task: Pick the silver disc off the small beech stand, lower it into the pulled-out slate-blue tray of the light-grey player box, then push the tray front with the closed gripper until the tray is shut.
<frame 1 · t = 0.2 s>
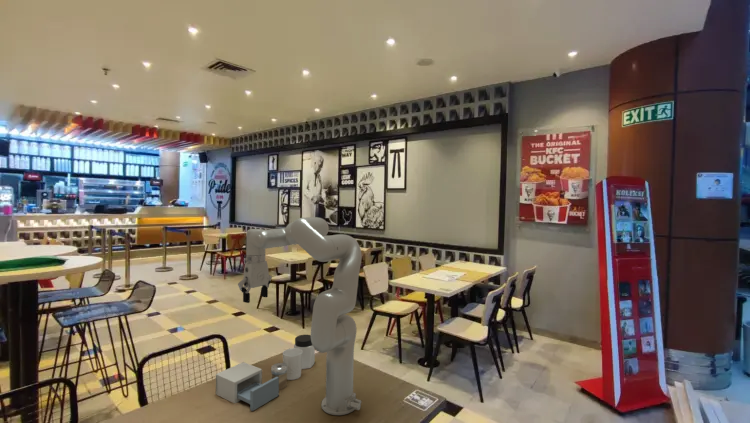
hand: (255, 299, 147), 31 cm above the table, tool pointing down, fingers open, 9 cm apart
white cup: (292, 376, 145), on the table
tray: (255, 388, 127), point 4 cm above the table, slide at 8.0 cm
housing: (239, 391, 133), on the table
stand: (279, 386, 136), on the table
jar: (304, 365, 155), on the table
disc: (279, 371, 136), point 6 cm above the table, touching stand
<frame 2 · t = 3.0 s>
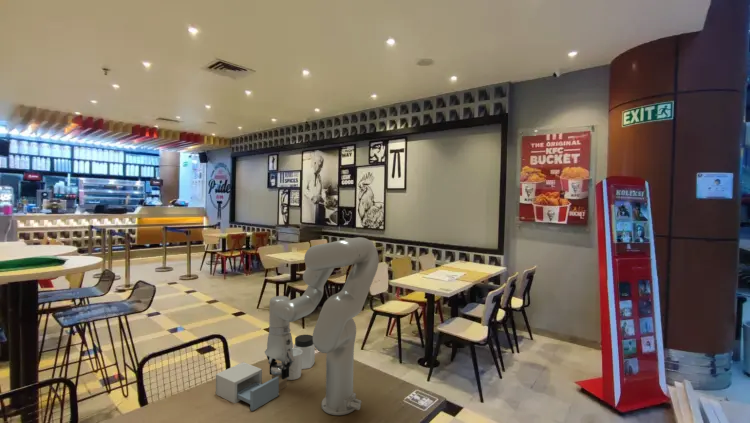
hand: (279, 375, 136), 5 cm above the table, tool pointing down, fingers closed on disc, 5 cm apart
disc: (279, 371, 136), point 6 cm above the table, touching gripper, stand
everything else where it was.
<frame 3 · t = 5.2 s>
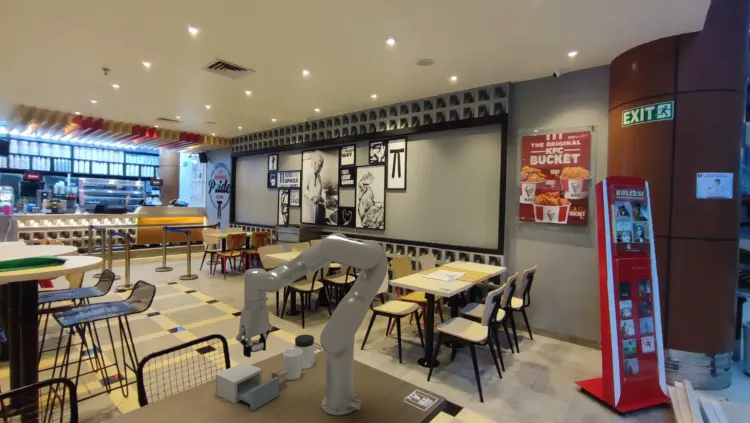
hand: (254, 352, 127), 17 cm above the table, tool pointing down, fingers closed on disc, 5 cm apart
disc: (254, 348, 127), point 18 cm above the table, touching gripper
everything else where it was.
when the fingers open (3 cm above the table, at t = 7.6 s): disc drops 2 cm, resting on tray.
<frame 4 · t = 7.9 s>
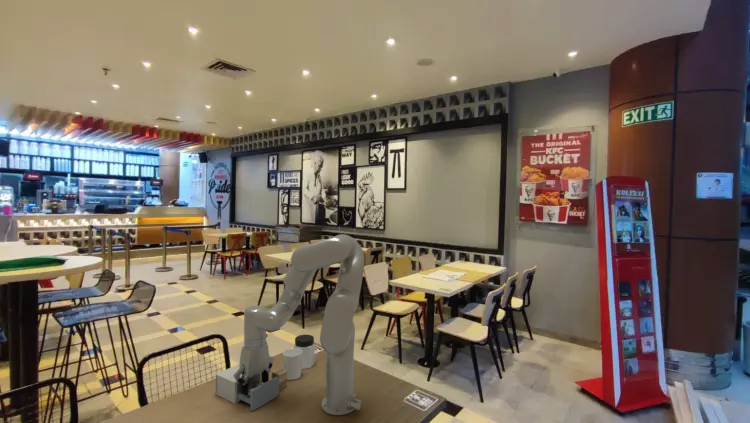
hand: (255, 388, 128), 4 cm above the table, tool pointing down, fingers open, 8 cm apart
tray: (255, 388, 127), point 4 cm above the table, slide at 8.0 cm, touching disc
disc: (255, 392, 128), point 2 cm above the table, touching tray
everything else where it was.
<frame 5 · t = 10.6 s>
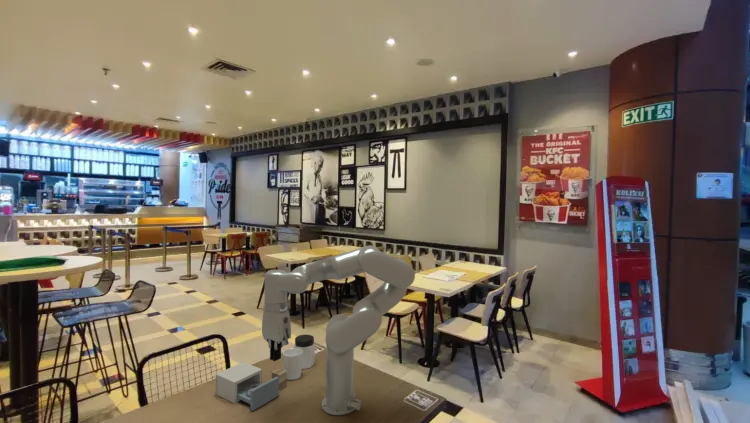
hand: (275, 359, 122), 17 cm above the table, tool pointing down, fingers closed
nothing on the table moved.
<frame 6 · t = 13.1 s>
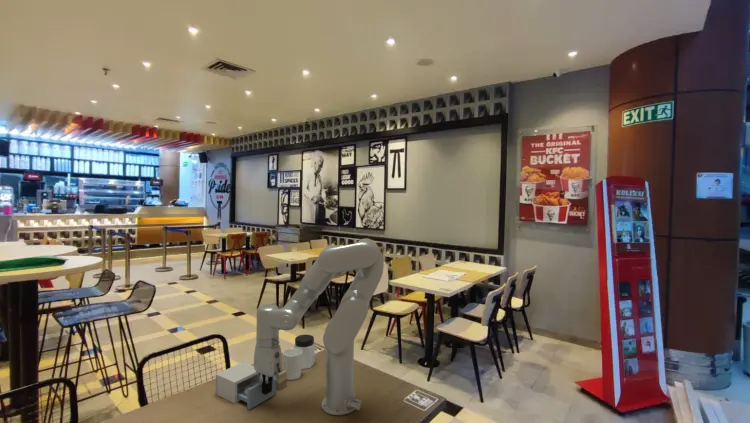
hand: (266, 392, 124), 4 cm above the table, tool pointing down, fingers closed
tray: (252, 387, 128), point 4 cm above the table, slide at 6.4 cm, touching disc, gripper
disc: (252, 391, 129), point 2 cm above the table, touching tray
everything else where it was.
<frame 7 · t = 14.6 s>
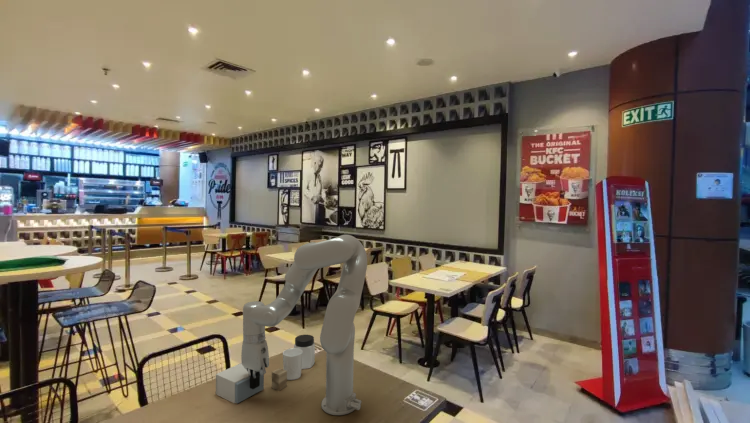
hand: (254, 387, 128), 4 cm above the table, tool pointing down, fingers closed
tray: (241, 382, 132), point 4 cm above the table, slide at -0.1 cm, touching disc, gripper, housing
disc: (240, 386, 132), point 2 cm above the table, touching tray
everything else where it was.
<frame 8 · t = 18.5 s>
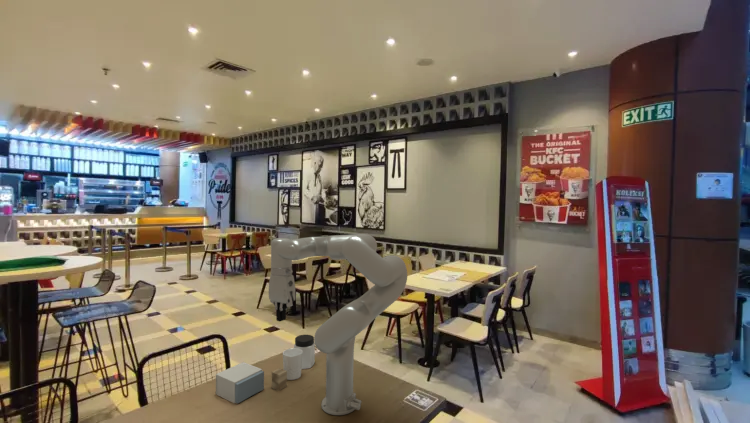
hand: (281, 320, 132), 27 cm above the table, tool pointing down, fingers closed
tray: (241, 382, 132), point 4 cm above the table, slide at 0.0 cm, touching disc
everything else where it was.
at the end: tray slide at 0.0 cm; disc inside the target area on the housing (0.7 cm from its centre), point 2.1 cm above the housing's base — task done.
